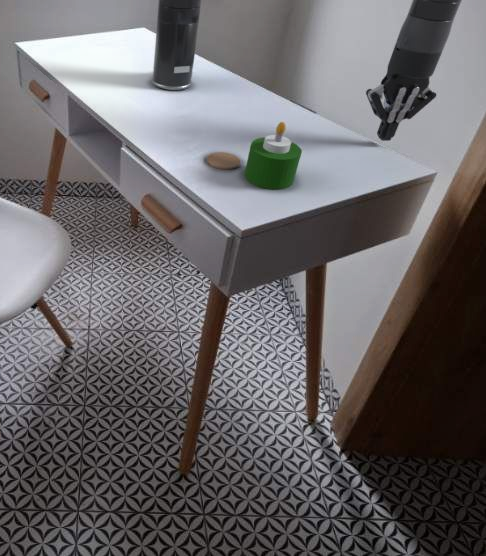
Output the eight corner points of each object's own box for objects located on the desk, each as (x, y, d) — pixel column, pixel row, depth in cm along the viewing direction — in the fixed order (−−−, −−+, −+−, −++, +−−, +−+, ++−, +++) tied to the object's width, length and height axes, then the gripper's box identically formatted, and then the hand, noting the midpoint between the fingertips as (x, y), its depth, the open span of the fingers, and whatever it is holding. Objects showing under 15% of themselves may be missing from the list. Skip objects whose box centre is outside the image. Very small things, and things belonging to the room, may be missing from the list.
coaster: (203, 154, 95) (203, 152, 95) (234, 153, 96) (235, 151, 95) (211, 169, 90) (211, 167, 90) (244, 169, 91) (244, 167, 91)
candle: (235, 169, 91) (246, 114, 84) (275, 163, 93) (289, 109, 87) (260, 192, 85) (274, 135, 78) (303, 185, 87) (320, 129, 81)
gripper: (442, 38, 92) (405, 130, 103) (373, 38, 91) (342, 131, 102) (468, 51, 87) (426, 147, 98) (394, 51, 85) (360, 148, 96)
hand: (383, 138), depth 100 cm, fingers closed
